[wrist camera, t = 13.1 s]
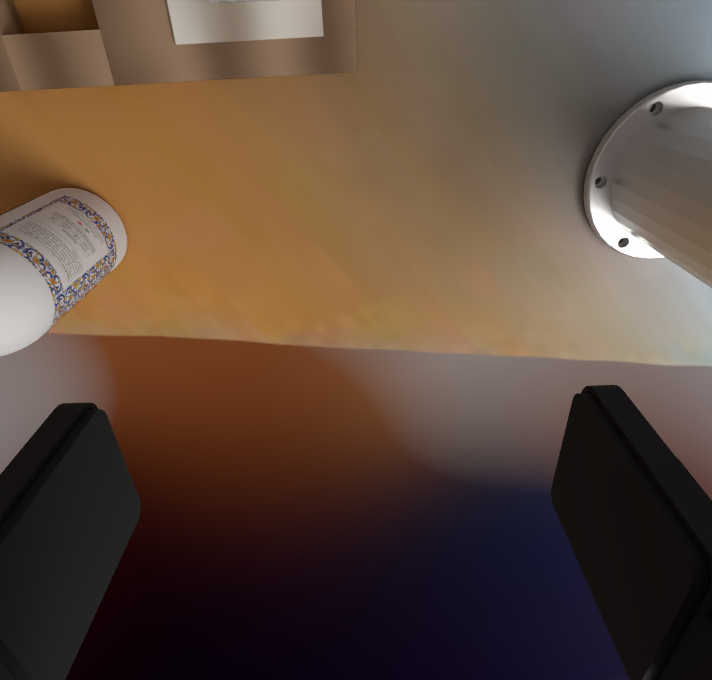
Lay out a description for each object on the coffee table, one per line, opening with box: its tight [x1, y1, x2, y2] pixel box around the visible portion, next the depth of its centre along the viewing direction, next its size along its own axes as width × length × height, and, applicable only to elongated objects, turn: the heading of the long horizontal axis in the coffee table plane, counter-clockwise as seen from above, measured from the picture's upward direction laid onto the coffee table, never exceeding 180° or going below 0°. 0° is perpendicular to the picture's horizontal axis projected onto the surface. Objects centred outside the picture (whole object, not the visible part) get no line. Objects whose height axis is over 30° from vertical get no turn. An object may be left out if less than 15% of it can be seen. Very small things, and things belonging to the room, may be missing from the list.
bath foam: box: [0, 188, 127, 356], centre depth 30 cm, size 7×7×20 cm
